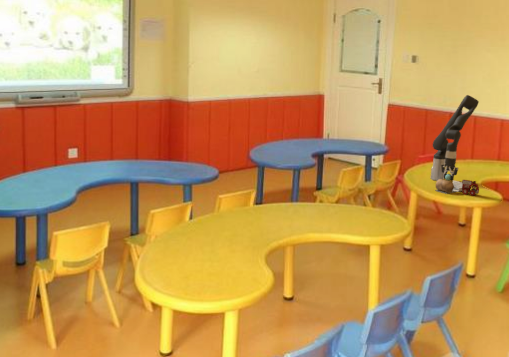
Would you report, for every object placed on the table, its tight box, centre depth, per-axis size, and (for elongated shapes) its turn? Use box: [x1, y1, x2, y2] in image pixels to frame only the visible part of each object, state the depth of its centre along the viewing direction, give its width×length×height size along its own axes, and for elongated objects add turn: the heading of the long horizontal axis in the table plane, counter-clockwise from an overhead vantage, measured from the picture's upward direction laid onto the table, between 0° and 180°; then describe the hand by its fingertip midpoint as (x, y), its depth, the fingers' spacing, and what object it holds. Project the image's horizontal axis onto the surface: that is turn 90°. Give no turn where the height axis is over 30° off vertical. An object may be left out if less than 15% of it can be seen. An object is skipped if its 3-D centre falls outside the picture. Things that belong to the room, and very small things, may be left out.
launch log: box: [435, 179, 454, 194], centre depth 478 cm, size 10×8×8 cm
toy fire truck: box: [461, 179, 480, 197], centre depth 473 cm, size 7×12×10 cm, turn 60°
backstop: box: [452, 180, 462, 192], centre depth 486 cm, size 11×7×5 cm, turn 35°
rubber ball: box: [444, 173, 451, 182], centre depth 479 cm, size 5×5×5 cm
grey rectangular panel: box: [435, 188, 460, 195], centre depth 483 cm, size 10×21×1 cm, turn 125°
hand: (448, 179), depth 479 cm, fingers open, 5 cm apart
